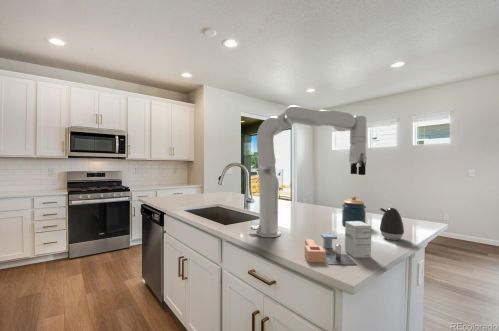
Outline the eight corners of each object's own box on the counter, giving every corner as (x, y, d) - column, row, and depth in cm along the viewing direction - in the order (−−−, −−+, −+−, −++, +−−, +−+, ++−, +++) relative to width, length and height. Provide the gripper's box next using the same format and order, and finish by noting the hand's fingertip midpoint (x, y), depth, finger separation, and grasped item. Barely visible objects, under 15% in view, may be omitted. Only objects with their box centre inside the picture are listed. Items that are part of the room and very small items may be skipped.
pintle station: (328, 264, 89) (328, 249, 89) (321, 254, 99) (321, 240, 99) (356, 265, 88) (356, 250, 88) (346, 254, 98) (346, 241, 98)
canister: (369, 228, 138) (370, 197, 138) (346, 228, 138) (347, 197, 138) (359, 223, 151) (360, 194, 151) (338, 223, 151) (339, 194, 151)
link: (325, 262, 91) (325, 251, 91) (308, 261, 91) (308, 251, 91) (316, 248, 105) (316, 239, 105) (301, 248, 105) (301, 239, 105)
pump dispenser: (383, 234, 128) (383, 205, 127) (406, 238, 120) (406, 207, 120) (376, 238, 120) (376, 207, 120) (400, 243, 113) (400, 210, 113)
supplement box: (344, 251, 103) (344, 221, 102) (361, 250, 103) (361, 220, 103) (353, 258, 95) (353, 225, 95) (371, 257, 96) (371, 225, 96)
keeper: (323, 250, 103) (323, 236, 102) (319, 246, 109) (320, 232, 109) (336, 251, 102) (337, 236, 102) (332, 246, 108) (332, 232, 108)
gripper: (344, 142, 133) (344, 173, 133) (357, 139, 116) (357, 175, 116) (358, 142, 133) (358, 173, 133) (373, 139, 115) (373, 175, 116)
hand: (357, 174), depth 124 cm, fingers open, 9 cm apart
